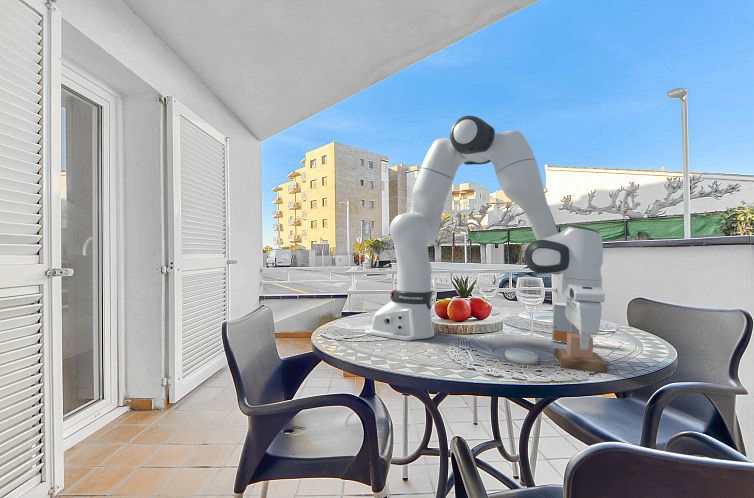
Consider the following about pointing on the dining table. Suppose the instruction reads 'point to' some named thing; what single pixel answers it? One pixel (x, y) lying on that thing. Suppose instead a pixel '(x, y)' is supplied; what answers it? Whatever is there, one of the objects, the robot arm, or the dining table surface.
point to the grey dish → (521, 356)
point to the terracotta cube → (574, 348)
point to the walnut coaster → (580, 361)
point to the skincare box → (560, 323)
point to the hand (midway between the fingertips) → (579, 343)
